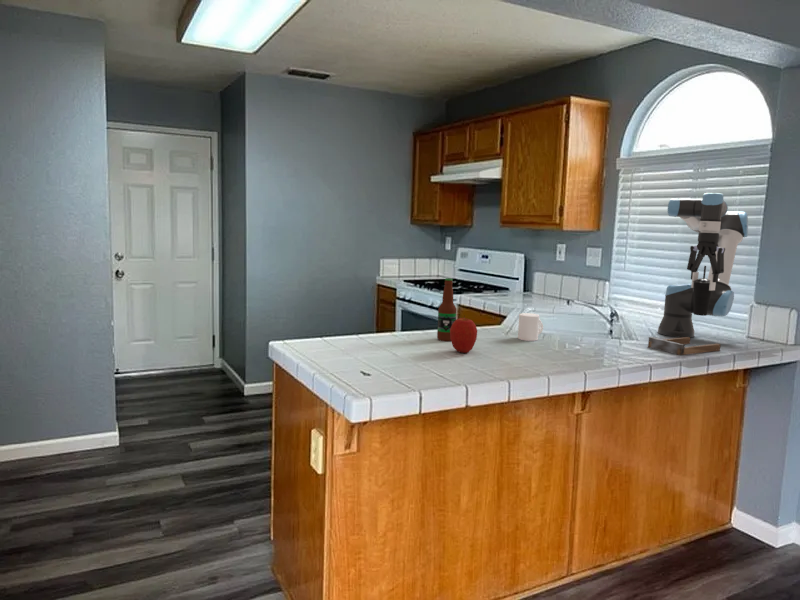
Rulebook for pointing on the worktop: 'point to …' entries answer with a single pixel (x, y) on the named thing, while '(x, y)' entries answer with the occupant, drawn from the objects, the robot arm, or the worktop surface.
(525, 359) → the worktop surface
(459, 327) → the apple
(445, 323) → the bottle
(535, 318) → the mug
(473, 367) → the worktop surface
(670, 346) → the channel
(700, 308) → the drinking cup
